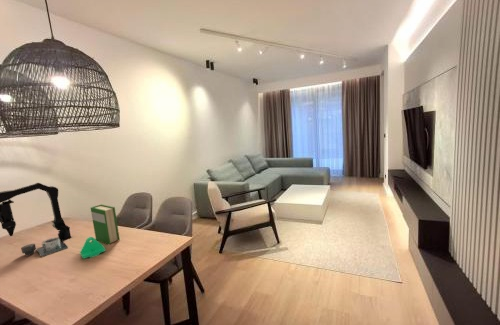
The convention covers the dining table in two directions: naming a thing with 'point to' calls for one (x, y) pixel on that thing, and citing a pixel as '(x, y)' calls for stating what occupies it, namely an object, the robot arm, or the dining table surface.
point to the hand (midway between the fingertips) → (10, 234)
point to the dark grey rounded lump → (28, 249)
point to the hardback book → (105, 223)
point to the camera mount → (91, 248)
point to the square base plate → (51, 246)
